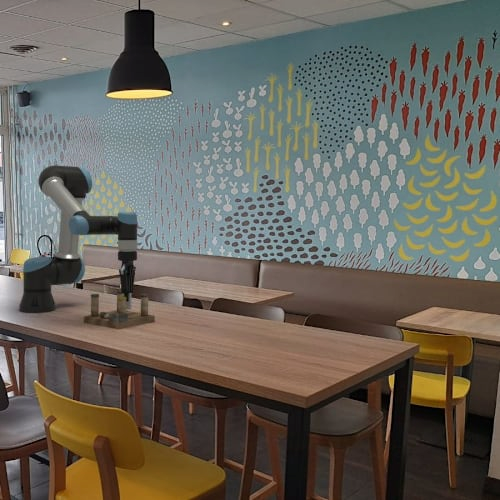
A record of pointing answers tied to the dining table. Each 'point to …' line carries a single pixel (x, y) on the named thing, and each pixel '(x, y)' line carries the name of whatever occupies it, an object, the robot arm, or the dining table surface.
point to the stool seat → (119, 319)
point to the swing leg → (120, 307)
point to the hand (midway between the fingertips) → (127, 309)
